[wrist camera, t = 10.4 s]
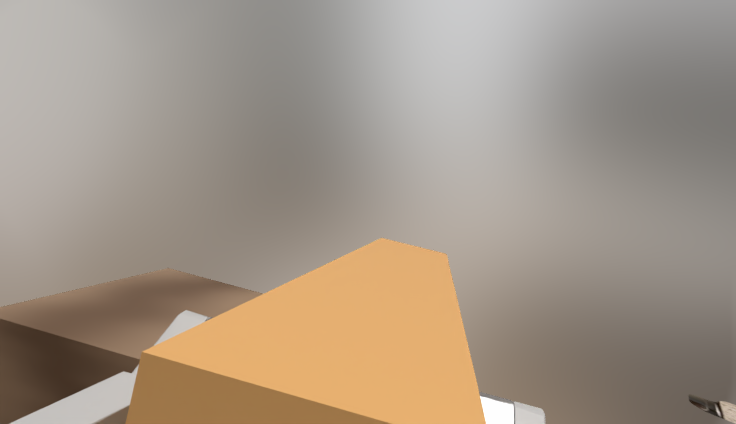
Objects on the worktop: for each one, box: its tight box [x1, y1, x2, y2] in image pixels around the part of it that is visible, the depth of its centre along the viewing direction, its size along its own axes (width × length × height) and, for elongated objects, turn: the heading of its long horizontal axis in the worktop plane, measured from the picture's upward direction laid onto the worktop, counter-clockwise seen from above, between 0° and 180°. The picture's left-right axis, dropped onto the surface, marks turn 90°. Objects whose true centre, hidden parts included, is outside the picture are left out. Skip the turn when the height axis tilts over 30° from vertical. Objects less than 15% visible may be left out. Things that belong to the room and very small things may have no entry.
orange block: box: [125, 238, 486, 424], centre depth 17 cm, size 4×24×4 cm, turn 172°
